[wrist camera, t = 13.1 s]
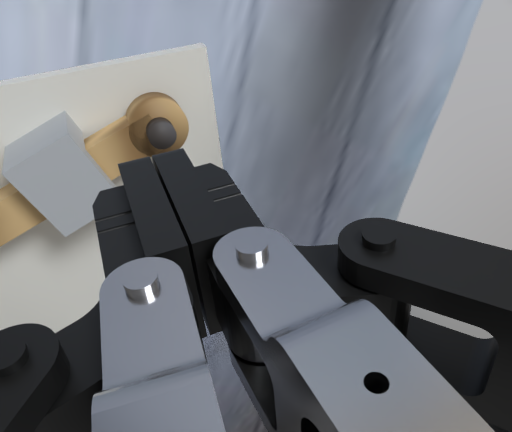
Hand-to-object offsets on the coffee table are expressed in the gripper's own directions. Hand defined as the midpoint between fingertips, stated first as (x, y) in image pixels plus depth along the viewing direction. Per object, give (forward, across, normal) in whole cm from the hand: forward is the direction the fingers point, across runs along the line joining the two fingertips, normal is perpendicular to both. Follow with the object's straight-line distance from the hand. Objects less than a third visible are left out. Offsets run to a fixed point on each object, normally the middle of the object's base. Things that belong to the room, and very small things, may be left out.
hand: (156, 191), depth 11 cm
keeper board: (+27, +4, +16) cm, 32 cm away
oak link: (+25, +4, +11) cm, 28 cm away
